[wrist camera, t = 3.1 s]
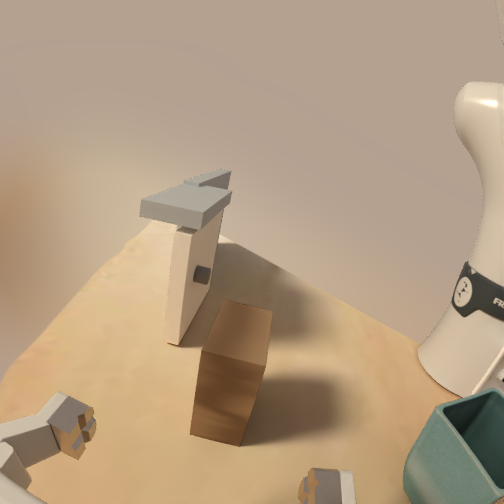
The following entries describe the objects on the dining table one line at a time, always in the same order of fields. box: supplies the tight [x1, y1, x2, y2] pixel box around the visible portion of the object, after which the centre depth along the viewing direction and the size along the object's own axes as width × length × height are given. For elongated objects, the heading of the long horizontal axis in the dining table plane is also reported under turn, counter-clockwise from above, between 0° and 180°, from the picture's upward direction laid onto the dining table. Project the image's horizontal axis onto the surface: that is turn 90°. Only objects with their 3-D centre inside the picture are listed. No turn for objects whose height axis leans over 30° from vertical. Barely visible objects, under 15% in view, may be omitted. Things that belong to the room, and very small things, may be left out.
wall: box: [140, 169, 232, 244], centre depth 45 cm, size 6×34×15 cm, turn 173°
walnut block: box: [190, 300, 273, 447], centre depth 23 cm, size 4×7×9 cm, turn 173°
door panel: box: [164, 210, 223, 345], centre depth 36 cm, size 3×14×12 cm, turn 173°
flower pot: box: [403, 388, 504, 504], centre depth 15 cm, size 9×9×9 cm
